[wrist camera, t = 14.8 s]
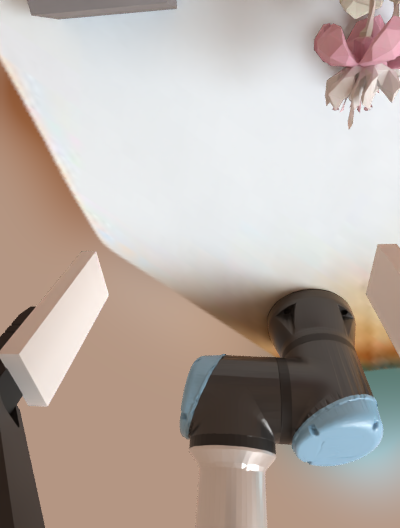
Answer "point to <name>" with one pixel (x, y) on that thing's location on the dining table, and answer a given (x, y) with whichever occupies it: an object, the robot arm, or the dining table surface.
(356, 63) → the flower
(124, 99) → the dining table surface
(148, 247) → the dining table surface
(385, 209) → the dining table surface
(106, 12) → the charcoal block
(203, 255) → the dining table surface
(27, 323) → the robot arm
